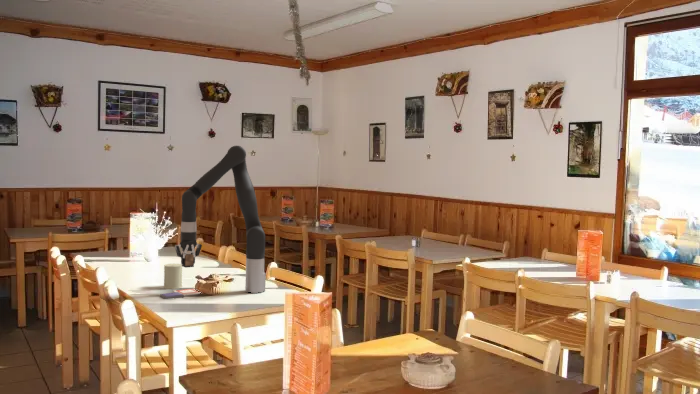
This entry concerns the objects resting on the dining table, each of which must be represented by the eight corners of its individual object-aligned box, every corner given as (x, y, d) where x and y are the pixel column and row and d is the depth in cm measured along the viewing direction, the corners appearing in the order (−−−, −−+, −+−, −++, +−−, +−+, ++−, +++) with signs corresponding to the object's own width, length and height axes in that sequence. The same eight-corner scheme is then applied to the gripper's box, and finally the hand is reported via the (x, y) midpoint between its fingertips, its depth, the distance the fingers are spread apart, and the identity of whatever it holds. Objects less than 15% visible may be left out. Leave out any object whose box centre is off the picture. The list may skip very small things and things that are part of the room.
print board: (193, 289, 313) (193, 288, 313) (202, 293, 305) (202, 291, 305) (172, 291, 306) (172, 290, 306) (180, 295, 298) (181, 294, 298)
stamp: (190, 265, 308) (190, 253, 308) (193, 266, 304) (194, 254, 304) (181, 266, 305) (182, 254, 305) (185, 267, 302) (185, 255, 301)
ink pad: (178, 294, 301) (178, 291, 301) (183, 297, 295) (183, 294, 295) (160, 296, 295) (160, 293, 295) (165, 299, 290) (165, 296, 290)
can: (163, 289, 312) (163, 265, 311) (163, 285, 321) (164, 262, 320) (182, 288, 314) (182, 265, 314) (182, 285, 323) (182, 262, 322)
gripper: (177, 232, 296) (177, 267, 297) (205, 230, 305) (204, 265, 306) (171, 230, 302) (171, 265, 303) (198, 229, 311) (198, 262, 312)
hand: (188, 264), depth 305 cm, fingers closed on stamp, 4 cm apart
